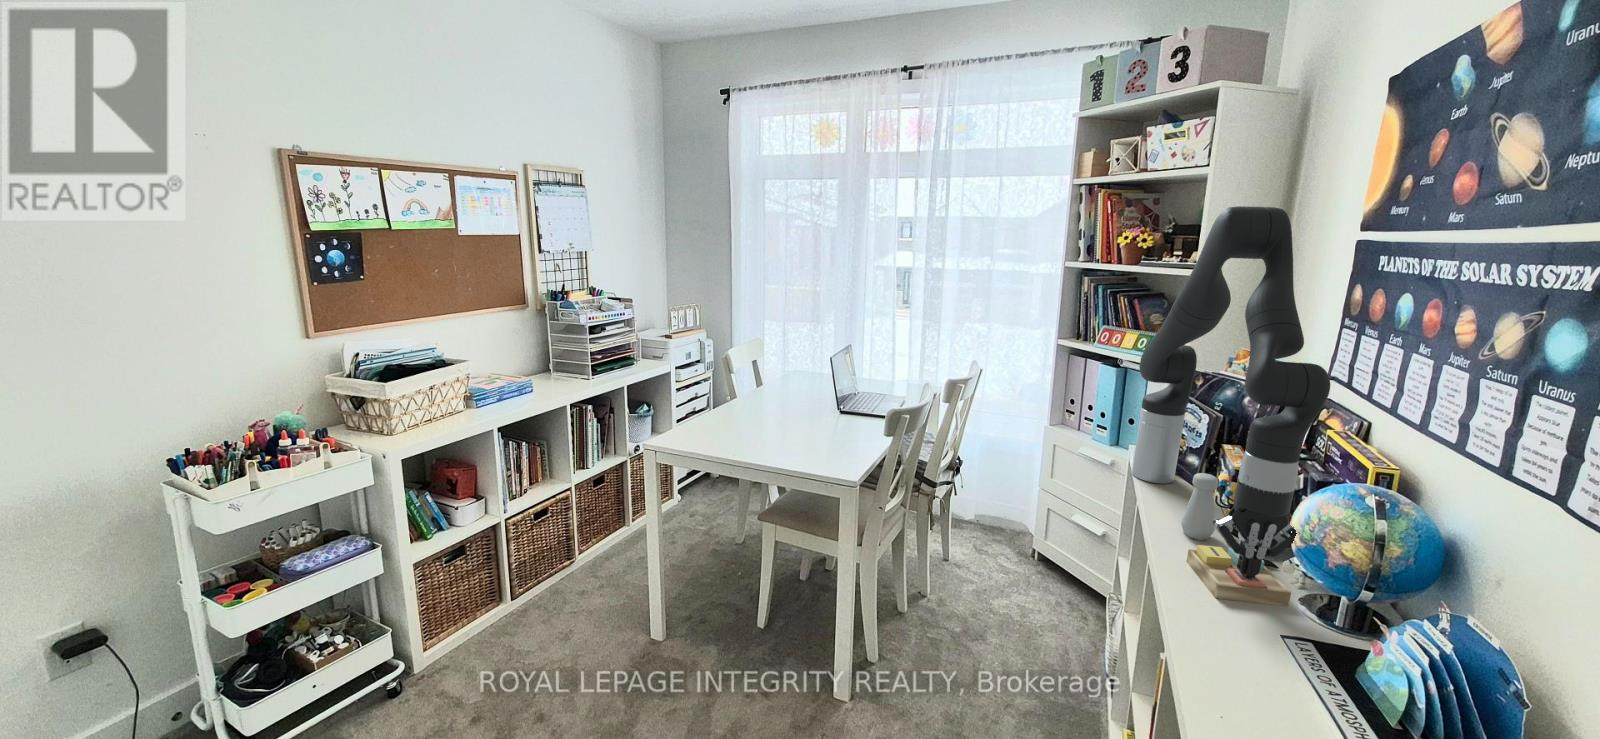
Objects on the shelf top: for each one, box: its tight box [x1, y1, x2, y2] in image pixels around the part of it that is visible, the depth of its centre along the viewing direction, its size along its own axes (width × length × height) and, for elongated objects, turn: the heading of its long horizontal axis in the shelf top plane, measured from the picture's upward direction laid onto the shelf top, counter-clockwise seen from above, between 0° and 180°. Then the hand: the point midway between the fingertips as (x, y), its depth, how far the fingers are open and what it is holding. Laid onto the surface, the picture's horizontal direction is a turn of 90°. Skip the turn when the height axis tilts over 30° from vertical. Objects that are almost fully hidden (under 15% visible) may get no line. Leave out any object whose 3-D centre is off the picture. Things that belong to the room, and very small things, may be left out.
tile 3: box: [1227, 568, 1265, 588], centre depth 107 cm, size 4×4×2 cm
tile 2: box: [1226, 547, 1265, 570], centre depth 112 cm, size 4×4×2 cm
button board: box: [1186, 548, 1292, 607], centre depth 110 cm, size 12×11×2 cm
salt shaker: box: [1180, 472, 1219, 541], centre depth 125 cm, size 6×6×13 cm
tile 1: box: [1195, 544, 1232, 567], centre depth 113 cm, size 4×4×2 cm
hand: (1246, 575), depth 106 cm, fingers closed
